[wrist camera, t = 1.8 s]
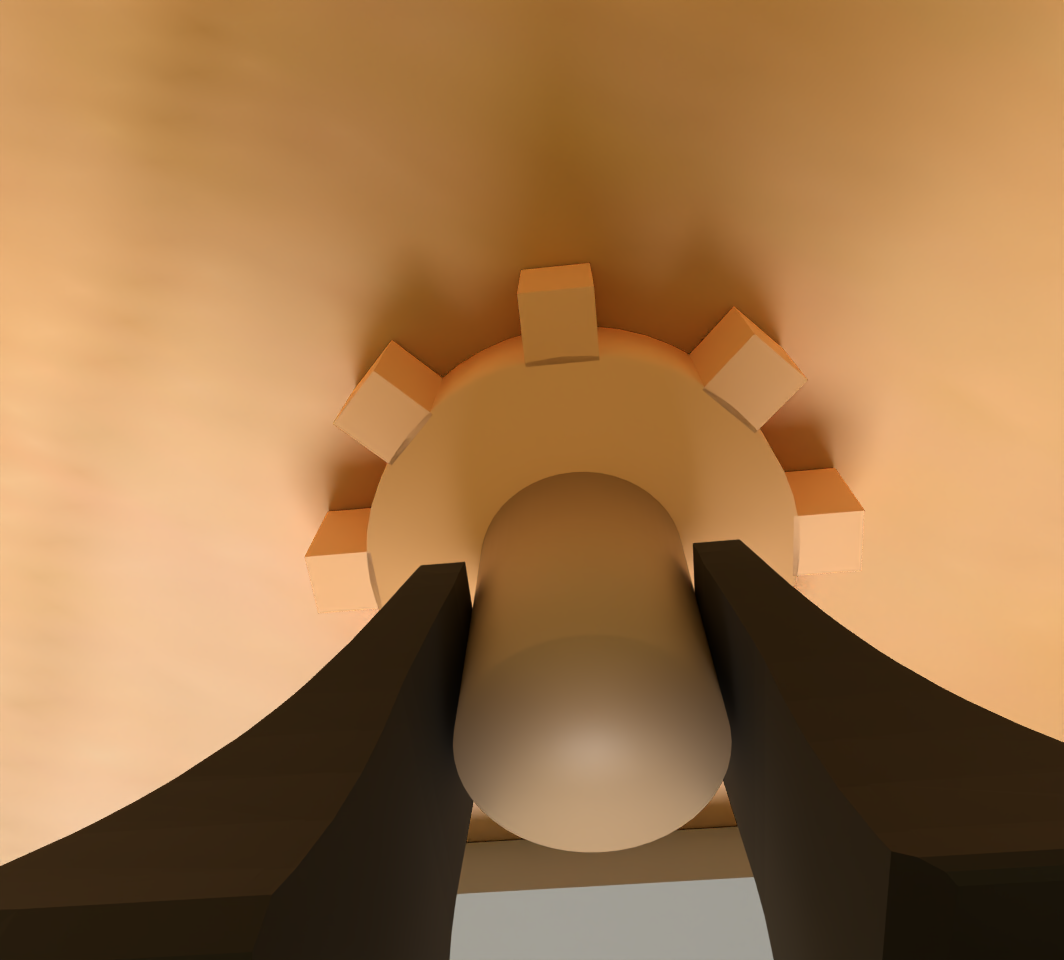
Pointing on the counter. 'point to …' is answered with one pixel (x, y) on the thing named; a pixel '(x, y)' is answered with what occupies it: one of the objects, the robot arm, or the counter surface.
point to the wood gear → (582, 549)
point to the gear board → (611, 901)
